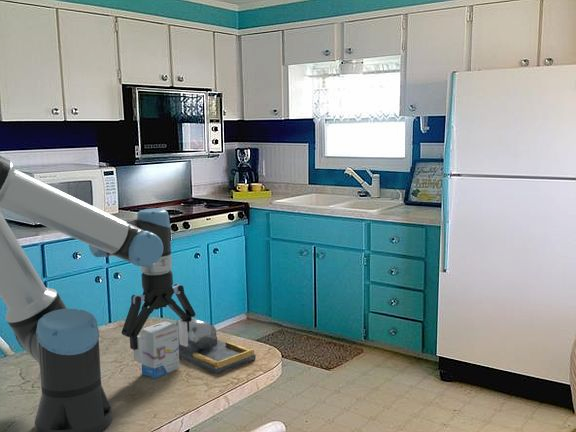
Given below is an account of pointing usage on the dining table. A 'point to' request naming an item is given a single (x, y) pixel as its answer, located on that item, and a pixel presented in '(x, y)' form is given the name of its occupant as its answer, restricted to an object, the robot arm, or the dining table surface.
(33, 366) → the dining table surface
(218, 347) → the motor unit
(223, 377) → the dining table surface
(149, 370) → the ink box
